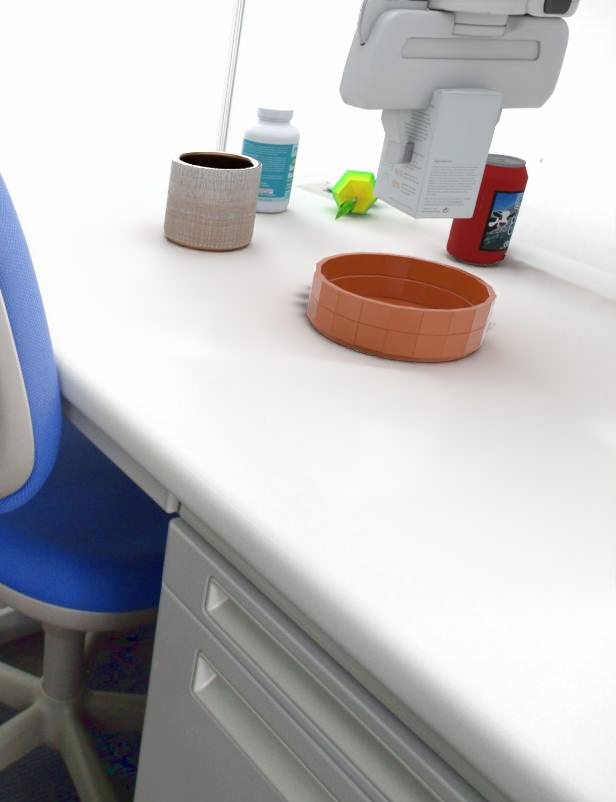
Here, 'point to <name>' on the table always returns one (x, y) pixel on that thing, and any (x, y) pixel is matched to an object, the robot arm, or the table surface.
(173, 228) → the planter
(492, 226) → the beverage can
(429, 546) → the table surface
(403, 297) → the pan
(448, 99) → the small box
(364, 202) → the apple
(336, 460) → the table surface
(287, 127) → the pill bottle
